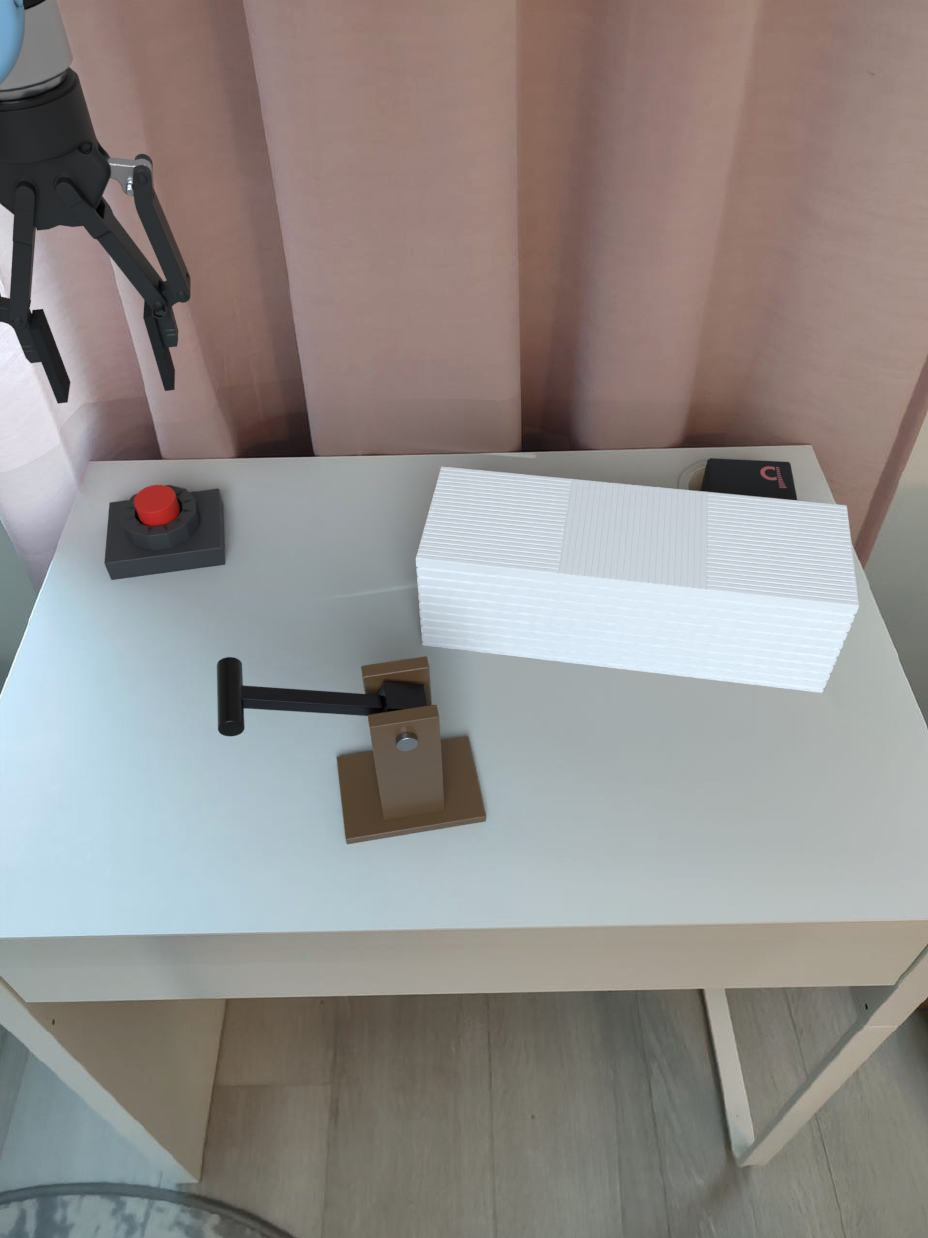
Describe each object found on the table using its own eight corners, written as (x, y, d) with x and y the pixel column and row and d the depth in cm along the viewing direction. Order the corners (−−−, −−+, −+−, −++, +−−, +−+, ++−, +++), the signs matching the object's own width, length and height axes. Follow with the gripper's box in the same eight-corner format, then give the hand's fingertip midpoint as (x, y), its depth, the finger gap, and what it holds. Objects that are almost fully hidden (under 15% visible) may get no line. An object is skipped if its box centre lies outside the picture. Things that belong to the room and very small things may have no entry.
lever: (214, 740, 60) (221, 716, 58) (213, 675, 63) (219, 651, 62) (421, 750, 65) (432, 728, 63) (410, 689, 68) (421, 667, 66)
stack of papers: (422, 649, 82) (415, 558, 74) (445, 558, 89) (441, 465, 81) (820, 697, 78) (859, 606, 70) (812, 598, 85) (846, 504, 77)
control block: (111, 580, 88) (97, 548, 85) (115, 519, 93) (103, 487, 90) (225, 565, 89) (216, 532, 86) (223, 505, 94) (214, 473, 91)
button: (138, 529, 87) (132, 514, 86) (139, 502, 90) (134, 487, 88) (179, 523, 88) (175, 509, 86) (180, 496, 90) (175, 482, 89)
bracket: (347, 848, 71) (325, 747, 61) (338, 766, 75) (316, 660, 65) (486, 825, 72) (486, 722, 62) (468, 745, 76) (466, 638, 66)
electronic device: (706, 581, 87) (716, 540, 83) (698, 498, 94) (707, 457, 90) (793, 585, 86) (807, 544, 83) (778, 502, 93) (791, 461, 90)
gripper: (-176, 116, 58) (-24, 431, 75) (180, 85, 60) (249, 399, 77) (-147, 66, 62) (-10, 373, 80) (182, 39, 65) (246, 344, 82)
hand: (117, 386), depth 78 cm, fingers open, 7 cm apart
